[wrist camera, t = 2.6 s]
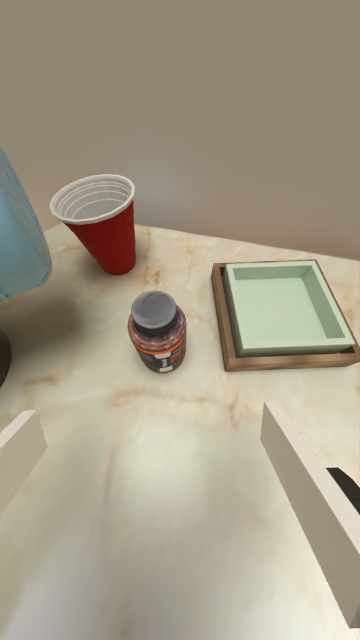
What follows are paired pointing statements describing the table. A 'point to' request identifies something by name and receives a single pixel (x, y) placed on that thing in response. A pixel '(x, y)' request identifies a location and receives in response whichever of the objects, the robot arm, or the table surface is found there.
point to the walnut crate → (273, 362)
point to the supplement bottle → (158, 331)
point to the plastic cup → (101, 218)
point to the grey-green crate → (282, 310)
